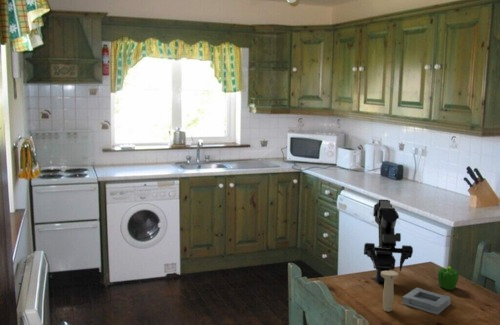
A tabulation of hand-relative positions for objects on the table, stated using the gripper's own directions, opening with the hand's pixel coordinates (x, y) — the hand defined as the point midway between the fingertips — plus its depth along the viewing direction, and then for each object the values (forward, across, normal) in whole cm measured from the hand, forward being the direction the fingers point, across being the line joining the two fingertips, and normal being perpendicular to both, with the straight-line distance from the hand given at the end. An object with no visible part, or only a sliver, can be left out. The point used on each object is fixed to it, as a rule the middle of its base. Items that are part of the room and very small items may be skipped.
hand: (388, 269), depth 199 cm
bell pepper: (-5, +27, +25) cm, 37 cm away
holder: (+8, +15, +11) cm, 21 cm away
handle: (+15, 0, +4) cm, 16 cm away
